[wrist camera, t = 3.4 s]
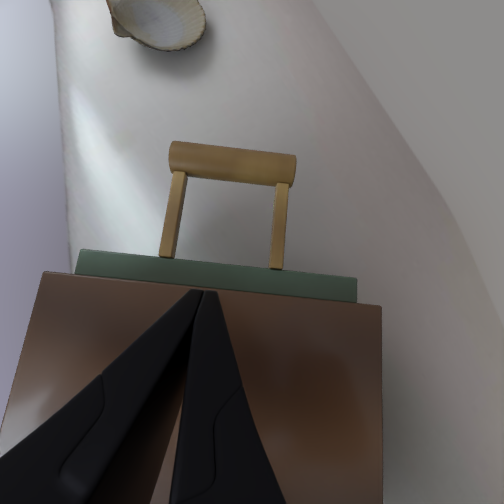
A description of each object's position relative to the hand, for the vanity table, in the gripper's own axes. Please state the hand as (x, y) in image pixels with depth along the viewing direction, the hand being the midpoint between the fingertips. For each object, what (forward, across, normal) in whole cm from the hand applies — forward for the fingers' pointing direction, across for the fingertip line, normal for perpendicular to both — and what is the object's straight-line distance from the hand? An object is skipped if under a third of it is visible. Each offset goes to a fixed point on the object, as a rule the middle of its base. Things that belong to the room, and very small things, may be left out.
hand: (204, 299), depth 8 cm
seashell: (+25, +9, -9) cm, 28 cm away
